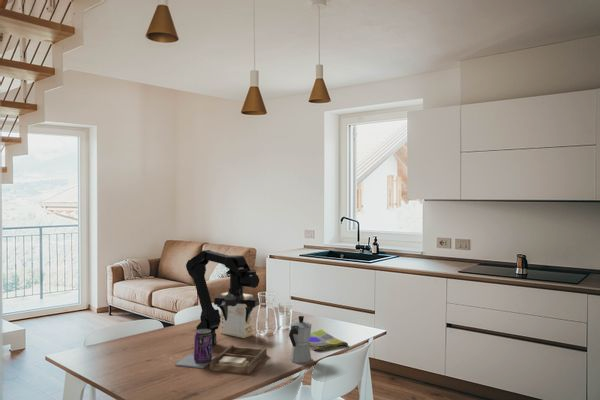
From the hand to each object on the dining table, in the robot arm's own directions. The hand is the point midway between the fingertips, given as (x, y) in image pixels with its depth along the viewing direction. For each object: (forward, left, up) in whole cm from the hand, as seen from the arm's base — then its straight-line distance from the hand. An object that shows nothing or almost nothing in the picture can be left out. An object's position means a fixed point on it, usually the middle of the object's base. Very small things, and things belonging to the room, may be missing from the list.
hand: (236, 321), depth 204 cm
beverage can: (-8, -16, -12) cm, 22 cm away
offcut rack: (+6, -12, -13) cm, 19 cm away
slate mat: (-11, -16, -13) cm, 23 cm away
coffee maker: (+29, -4, -13) cm, 32 cm away
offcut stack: (+6, -18, -13) cm, 23 cm away
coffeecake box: (-9, +24, -13) cm, 29 cm away
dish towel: (+32, +23, -14) cm, 42 cm away
